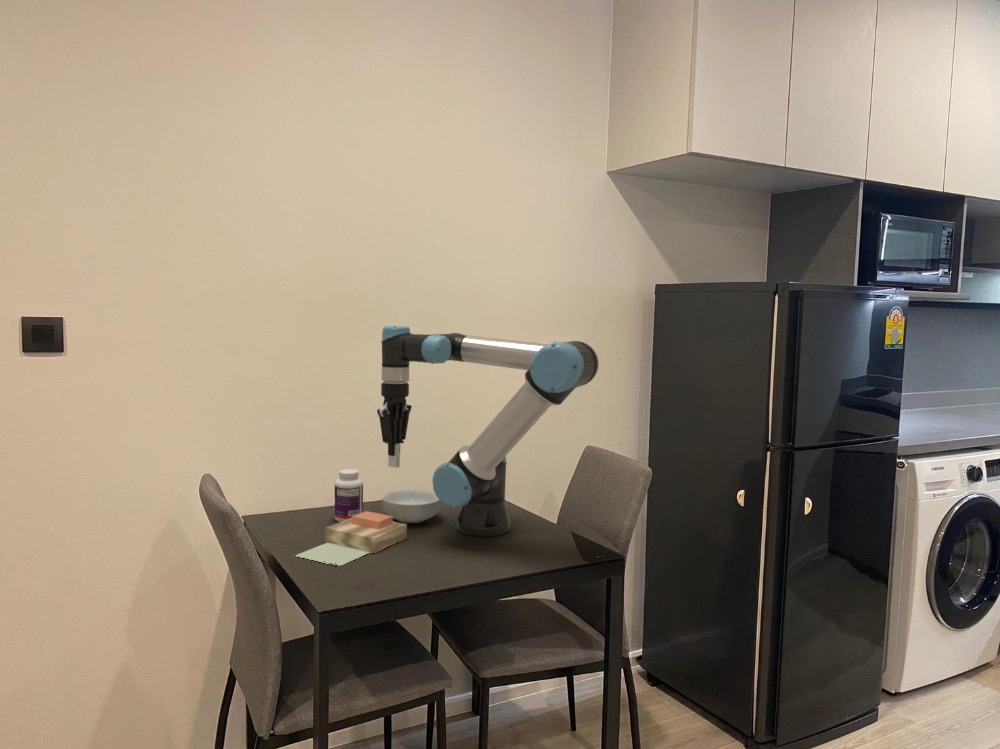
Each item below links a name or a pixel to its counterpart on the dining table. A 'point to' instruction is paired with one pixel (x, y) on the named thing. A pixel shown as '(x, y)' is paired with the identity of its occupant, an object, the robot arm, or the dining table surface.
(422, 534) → the dining table surface
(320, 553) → the mat
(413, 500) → the cereal bowl
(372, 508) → the dining table surface
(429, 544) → the dining table surface
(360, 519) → the pink rectangular block
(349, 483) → the pill bottle
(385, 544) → the wooden block
